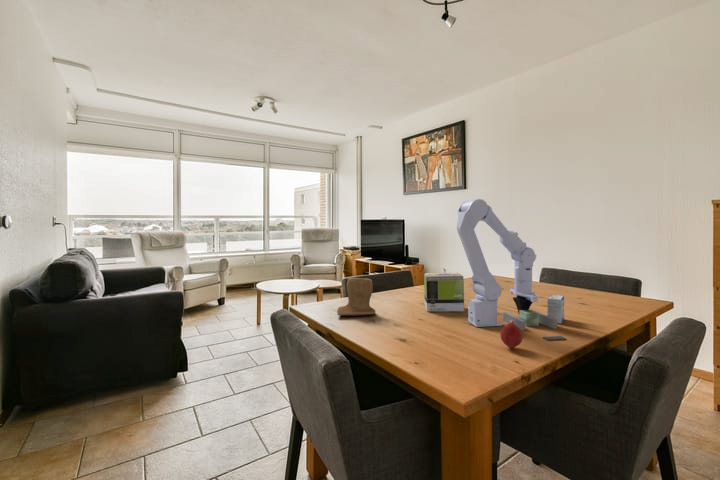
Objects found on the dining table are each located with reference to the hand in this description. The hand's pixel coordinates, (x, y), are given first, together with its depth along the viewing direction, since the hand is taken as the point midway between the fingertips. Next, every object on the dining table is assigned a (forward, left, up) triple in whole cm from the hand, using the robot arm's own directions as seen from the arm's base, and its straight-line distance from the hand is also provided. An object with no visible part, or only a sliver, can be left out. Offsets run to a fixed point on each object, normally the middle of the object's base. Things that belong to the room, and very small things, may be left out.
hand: (522, 317), depth 123 cm
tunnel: (0, -4, -1) cm, 4 cm away
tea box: (-22, +21, -2) cm, 31 cm away
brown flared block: (-59, +18, -2) cm, 62 cm away
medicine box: (+12, -1, -2) cm, 12 cm away
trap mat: (-1, -19, -1) cm, 19 cm away
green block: (0, -4, -1) cm, 4 cm away
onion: (-18, -25, -2) cm, 31 cm away
